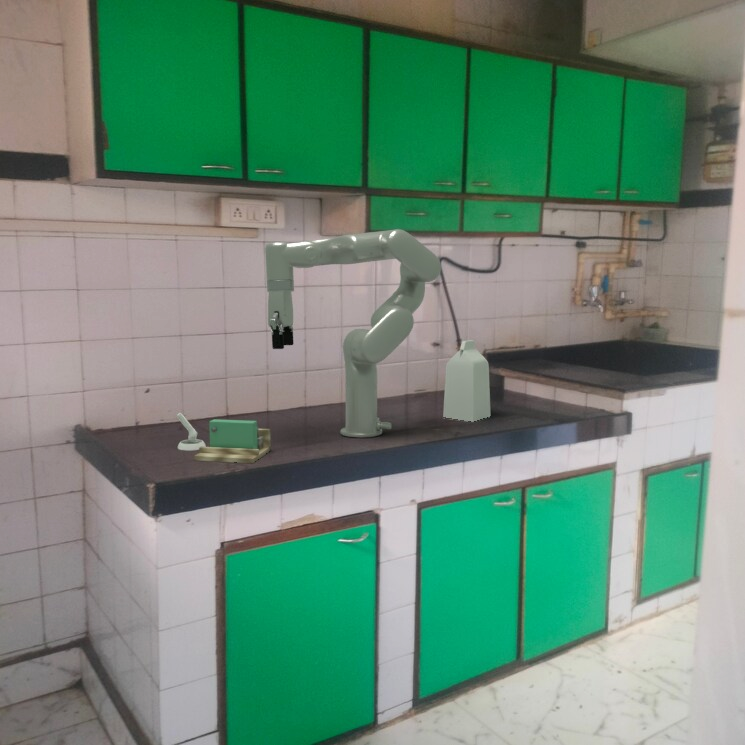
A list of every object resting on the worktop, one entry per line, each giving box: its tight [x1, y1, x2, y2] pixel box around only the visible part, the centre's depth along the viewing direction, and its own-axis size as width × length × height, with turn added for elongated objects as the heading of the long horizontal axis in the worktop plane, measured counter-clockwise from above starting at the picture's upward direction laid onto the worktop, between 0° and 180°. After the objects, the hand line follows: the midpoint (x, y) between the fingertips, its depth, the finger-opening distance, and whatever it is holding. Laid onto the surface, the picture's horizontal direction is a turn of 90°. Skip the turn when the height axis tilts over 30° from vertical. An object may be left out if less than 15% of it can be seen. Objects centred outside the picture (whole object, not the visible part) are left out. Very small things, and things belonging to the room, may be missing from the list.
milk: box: [442, 339, 491, 423], centre depth 243 cm, size 12×12×26 cm
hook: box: [176, 412, 207, 451], centre depth 201 cm, size 8×12×7 cm
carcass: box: [193, 426, 272, 464], centre depth 191 cm, size 16×14×7 cm
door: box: [208, 418, 258, 449], centre depth 191 cm, size 12×4×8 cm, turn 79°
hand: (283, 346), depth 206 cm, fingers open, 9 cm apart
